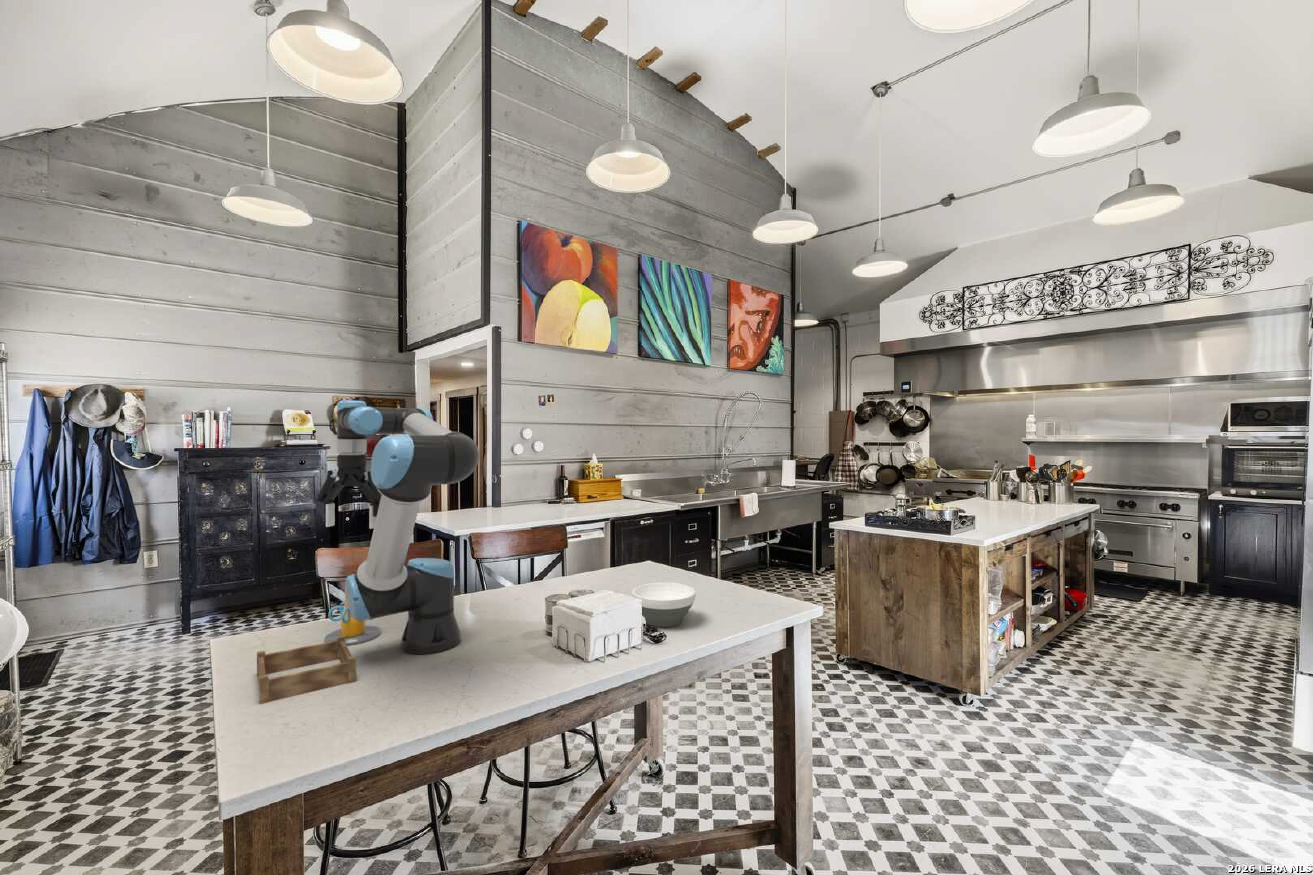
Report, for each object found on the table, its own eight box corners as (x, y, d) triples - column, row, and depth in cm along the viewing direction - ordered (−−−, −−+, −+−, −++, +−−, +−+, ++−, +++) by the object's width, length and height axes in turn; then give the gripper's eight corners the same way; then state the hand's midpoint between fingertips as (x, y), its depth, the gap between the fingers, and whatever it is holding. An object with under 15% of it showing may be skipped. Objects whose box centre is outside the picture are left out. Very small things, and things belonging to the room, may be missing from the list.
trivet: (390, 629, 165) (390, 626, 165) (359, 647, 151) (359, 644, 151) (347, 627, 167) (347, 624, 167) (312, 644, 153) (312, 641, 153)
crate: (343, 655, 145) (343, 635, 145) (356, 680, 130) (356, 657, 130) (256, 674, 134) (256, 651, 134) (259, 703, 119) (259, 678, 119)
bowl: (656, 607, 185) (656, 579, 185) (707, 619, 174) (707, 588, 174) (619, 624, 170) (619, 592, 170) (672, 637, 158) (672, 604, 158)
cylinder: (344, 627, 165) (344, 576, 165) (380, 626, 165) (380, 575, 165) (322, 642, 153) (322, 587, 152) (361, 641, 153) (361, 586, 153)
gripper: (399, 454, 164) (399, 526, 164) (321, 452, 167) (321, 523, 168) (384, 455, 157) (383, 530, 157) (302, 453, 160) (302, 527, 160)
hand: (351, 527), depth 162 cm, fingers open, 13 cm apart
